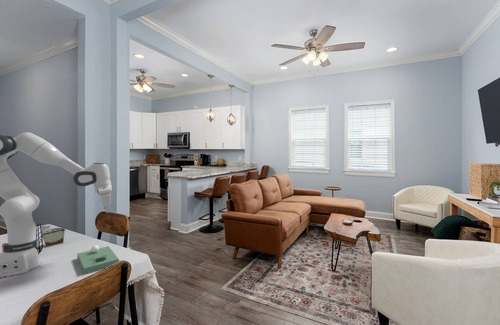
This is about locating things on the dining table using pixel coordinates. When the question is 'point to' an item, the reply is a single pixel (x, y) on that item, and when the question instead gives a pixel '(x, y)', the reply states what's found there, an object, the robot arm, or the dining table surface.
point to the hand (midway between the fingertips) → (106, 210)
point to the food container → (53, 236)
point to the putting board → (96, 259)
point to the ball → (94, 248)
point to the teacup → (45, 229)
